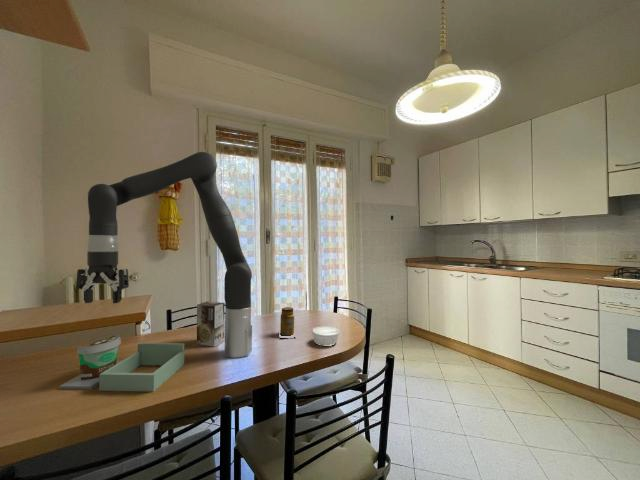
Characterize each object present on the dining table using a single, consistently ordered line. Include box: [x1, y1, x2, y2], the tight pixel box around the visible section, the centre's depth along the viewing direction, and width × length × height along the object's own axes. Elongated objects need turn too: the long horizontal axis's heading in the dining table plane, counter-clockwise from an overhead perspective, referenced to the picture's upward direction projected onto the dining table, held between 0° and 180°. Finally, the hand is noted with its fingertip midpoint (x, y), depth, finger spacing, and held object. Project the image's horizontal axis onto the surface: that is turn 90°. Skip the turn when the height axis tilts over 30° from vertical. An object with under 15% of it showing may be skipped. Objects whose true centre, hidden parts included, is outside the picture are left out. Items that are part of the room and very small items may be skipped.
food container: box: [76, 333, 122, 380], centre depth 85 cm, size 12×6×10 cm, turn 171°
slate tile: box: [58, 361, 120, 391], centre depth 85 cm, size 9×16×1 cm, turn 0°
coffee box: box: [196, 301, 225, 348], centre depth 114 cm, size 9×6×16 cm
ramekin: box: [312, 326, 340, 345], centre depth 115 cm, size 11×11×5 cm
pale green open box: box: [98, 342, 185, 392], centre depth 85 cm, size 15×17×7 cm
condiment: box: [278, 306, 295, 340], centre depth 123 cm, size 7×8×12 cm
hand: (102, 302), depth 86 cm, fingers open, 8 cm apart
